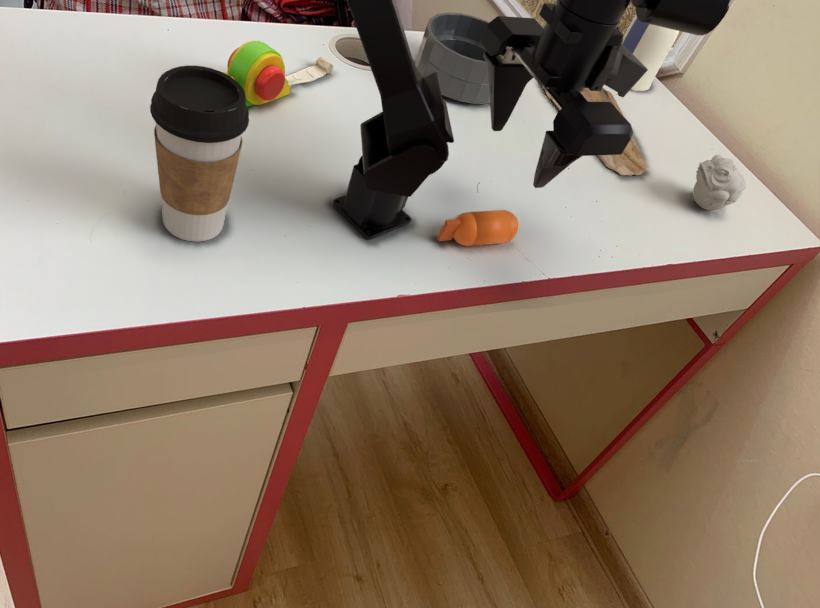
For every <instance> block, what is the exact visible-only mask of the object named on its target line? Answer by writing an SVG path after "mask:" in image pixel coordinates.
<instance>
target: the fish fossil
mask: <svg viewBox="0 0 820 608" xmlns="http://www.w3.org/2000/svg"><path fill="white" fill-rule="evenodd" d="M543 90H544V93H545V94H546V96H547V97H548V99H550V100H551V101H552V102H553V103H554V104H555V106H556V107H557V109H558V110H560V109H562V108H561V107H560V106H559V104H558V103H557V102H556V101H555V100H554V99H553V97H552V96H551V95H550V94H549V93H548V91H547V90H546V89H544V88H543ZM580 93H581V94H582V95H583V96H584V97H585V98H586V100H587V101H588V102H611V103H612V104H613V105H614V106H615V108H616V109H617V110H618V111H619V112H620V113H621V114H622V115H623V116H624V113H623V112H622V109H621V107H620V106H619V104H618V101H617V100H616V98H615V97H614V95H613V94H612V92H611V91H609V90H607V89H605V88H604V87H603V88H602V89H601V91H590V90H589V88H584V89H583V90H582V92H580ZM596 157H597V158H598V159H599V160H600V161H601V162H602V164H603V165H605V167H606V168H608V169H611V170H612V171H614V172H616V173H618V174H619V176H629V177H630V176H633V175H634V176H641V175H642V174H643V175H644V174H645V172H646V169H647V163H646V161H645V159H644V158H643V156H642V153H641V152H640V149H639V145H638V144H637V140H636V139H635V137H634V134H633V135H632V138H631V140H630V141H629V143H628V145H627V146H626V148H625V149H624V151H623V153H622V154H621V155H596Z"/></svg>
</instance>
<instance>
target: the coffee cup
mask: <svg viewBox="0 0 820 608" xmlns="http://www.w3.org/2000/svg"><path fill="white" fill-rule="evenodd" d="M223 72H224V71H221V70H217V69H215V68H212V67H207V66H202V65H182V66H176V67H173V68H172V67H171V68H170V69H168V70H166V71H165V72H163V73H161V75H160V76H159V78H158V80H157V82H156V87H155V91H154V92H153V94H152V97H151V99H150V101H151V102H150V105H149V106H150V107H149V112H150V114H151V118H152V119H153V121H154V122H155V126H154V128H153V134H154V136H153V137H154V145H155V146H154V147H155V154H156V155H155V156H156V163H157V173H158V174H157V175H158V182H159V193H160V198H161V199H160V200H161V213H162V222H163V225H164V227H165V229H166V230H167V231H168V232H169V233H170V234H171V235H173V236H174V237H176V238H178V239H180V240H184V241H188V242H196V243H197V242H198V243H199V242H206V241H210V240H212V239H214V238H215V237H217V236H218V235H219V234H220V233H221V232H222V230H223V229H224V224H225V219H226V213H227V209H228V205H229V201H230V197H231V193H232V189H233V185H234V180H235V176H236V172H237V167H238V163H239V159H240V155H241V152H242V146H243V136H242V135H243V134H244V133H245V132H246V130H247V129H248V127H249V123H250V117H249V116H250V111H249V108H248V107H249V106H248V107H247V105H246V95H245V91H244V90H243V88H242V87H241V85H240V84H239V83H238V82H237V81H236V80H234V79H233V78H232V77H230V76H229V75H227V74H225V73H223Z"/></svg>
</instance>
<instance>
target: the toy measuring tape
mask: <svg viewBox="0 0 820 608" xmlns="http://www.w3.org/2000/svg"><path fill="white" fill-rule="evenodd" d="M226 67H227V70H226V71H222V72H223V73H225V74H227V75H229V76H230V77H232V78H233V79H234V80H236V81H237V82H238V83H239V84H240V85H241V87H242V88H243V90H244V91H245V95H246V105H247V107H251V106H253V105H256V106H260V105H261V106H262V105H264V104H267V103H270V102H272V101H276V100H278V99H281V98H283V97H286V96H288V95H290V93H291V90H292V89H291V87H292V86H294V85H298V84H305V83H306V84H309V83H310V82H314V81H316V80H318V79H320V78H322V77H325V76H326V74H327V75H329V74H330V73H331V72H332V71H333V69H334V64H333V63H331V61H329V60H327V59H325V57H323V56H320V57H318V58H317V59H316V60H315V64H314V65H312V66H307V67H305V68H303V69H300V70H299V71H297V72H293V73H291V74H288V75H286V66H285V62H284V59H283V56H282V55H281V54H280V52H278V51H277V50H276V49H274V48H273V47H271V46H270V45H268V44H267V43H265V42H263V41H261V40H251V41H250V40H249V41H247V42H245V43H243V44H242V45H240V46H239V47H237V48H236V49H234V50H233V52H232V53H231V54H230V56H229V58H228V61H227V66H226Z"/></svg>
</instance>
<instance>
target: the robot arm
mask: <svg viewBox="0 0 820 608" xmlns="http://www.w3.org/2000/svg"><path fill="white" fill-rule="evenodd" d="M730 2H731V0H555V2H554V3H548V2H543V4H542V7H541V9H540V11H539V16H540V17H541V19H542V20H543V21H544V22H545V24H544V27H543V26H542V25H541V23H539V21H537V20H536V18H534V17H519V16H503V15H497V16H496V17H495V18H493V19H492V20H490V21H488V22H489V23H488V24H487V25H486V27H485V30H484V33H483V35H482V38H481V40H480V43H481V44H482V46H483V47H484V48H485V49H486V51H485V52H484V58H485V60H486V65H487V74H488V83H489V95H490V102H489V108H490V125H491V126H490V127H491V130H492V131H493V132H501V131H503V129H504V128H505V126H506V124H507V123H508V121H509V119H510V118H511V116H512V114H513V112H514V110H515V108H516V106H517V104H518V102H519V100H520V98H521V97H522V94H523V92H524V90H525V88H526V86H527V85H528V83H529V82H530V81H532V80H533V79H534V80H535V81H536V82H537V84H538V85H539V86H540V87H541V88H542V89H543V90H544V89H546V90H547V91H548V93H549V94H550V95H551V96H552V97H553V99H554V100H555V101H556V102H557V103H558V104H559V106H560V107H561V108H562V109H558V111H557V113H556V114H555V116H554V119H553V120H552V126H553V127H552V128H553V130H546V131H545V134H544V138H543V142H542V145H541V149H540V153H539V156H538V160H537V164H536V167H535V172H534V177H533V181H532V182H533V183H532V186H533V187H534V188H535V189H541V188H544V187H546V185H548V184H549V183H550V182H551V181H552V180H554V179H555V178H556V177H557V176H559V175H560V174H561V173H562V172H563V171H564V170H566V169H567V168H568V167H570V165H572V164H573V163H574V162H576V161H577V160H580V158H582V157H586V156H587V157H588V156H589V157H590V156H597V155H621V154H622V153H623V151H624V149H625V148H626V146H627V145H628V143H629V141H630V140H631V138H632V135H633V136H634V131H633V127H632V124H631V123H630V121H628V119H627V118H626V117H625V116H624V114H623V113H622V114H623V115H622V114H621V113H620V112H619V111H618V110H617V109H616V108H615V106H614V105H613V104H612V103H611V102H588V101H587V100H586V98H585V97H584V96H583V95H582V94H581V93H580V92H582V90H583V89H584V88H589V90H590V91H601V89H602V88H604V86H606V87H607V88H609V89H612V90H613V91H615V92H616V93H617V95H618V96H619V97H621V98H624V97H625V96H627V94H628V93H629V92H630V91H632V90H631V88H632V87H633V86H634V85H635V84H636V83H637V82H638V81H639V80H640V78H641V77H642V76H643V75H644V74H645V73H646V72H647V71H648V69H647V68H646V67H645V66H644V65H643V64H642V63H641V62H640V61H639V60H638V59H637V58H636V57H635V56H634V55H633V54H632V53H631V52H630V51H629V50H628V49H627V48H626V47H625V46H624V45H622V42H623V37H624V35H625V34H623V33H622V32H621V28H620V27H619V24H620V22H621V20H622V18H623V16H624V14H625V13H626V10H627V8H628V7H629V5H630V3H631V4H632V6H633V7H634V8H635V15H637V18H638V20H639V21H641V22H643V23H647V24H652V25H656V26H660V27H664V28H669V29H673V30H677V31H679V32H681V33H687V34H691V35H695V36H705V35H708V34H709V33H711V32H712V31H714V30H715V29H716V28H717V27H719V25H720V23H721V22H722V21H723V20H724V18H725V17H726V15H727V13H728V11H729V9H730V6H729V5H730ZM346 3H347V5H348V8H349V11H350V15H351V17H352V19H353V23H354V25H355V29H356V31H357V34H358V36H359V39H360V42H361V45H362V48H363V50H364V53H365V55H366V58H367V62H368V64H369V67H370V70H371V73H372V76H373V78H374V82H375V84H376V87H377V90H378V93H379V95H380V103H381V109H382V111H381V112H379V113H377V114H375V115H373V116H372V117H370V118H369V119H366V120H364V121H363V122H361V123H360V139H361V140H360V141H361V152H362V153H361V154H362V155H361V156H360V157H359V159H358V161H357V164H354V165H353V167H352V171H351V175H350V178H349V182H348V186H347V190H346V193H345V195H342V196H340V197H339V196H338V197H336V198H334V199H333V201H332V206H333V207H334V208H335V209H336V210H337V211H338V212H339V213H340V214H341V215H342V216H343V217H344V218H345V219H346V220H347V221H348V222H349V223H350V224H351V225H352V226H353V228H355V229H356V230H357V231H358V232H359V233H360V234H361V235H362V236H363V237H364V238H365V239H367V240H372V239H375V238H378V237H379V236H383V235H386V234H388V233H391V232H393V231H396V230H397V229H400V228H403V227H405V226H408V225H410V224H411V221H412V218H411V216H410V215H408V214H407V213H406V212H405V211H404V209H405V207H406V205H407V203H408V200H409V198H410V197H412V196H413V194H414V193H416V192H417V190H418V189H419V188H420V187H421V185H422V184H423V183H424V182H425V181H426V180H427V179H428V177H430V176H431V175H432V174H435V173H436V172H438V171H439V170H440V169H441V168H442V167H443V166H444V164H445V163H446V162H447V161H448V159H449V156H450V155H449V154H450V151H449V144H453V143H454V142H455V139H454V134H453V128H452V124H451V119H450V114H449V111H448V106H447V102H446V100H445V99H444V98H443V95H442V94H441V90H440V85H439V80H438V75H437V72H434V73H432V74H430V75H428V76H426V77H423V76H422V74H421V73H420V72H419V70H418V69H417V67H416V66H415V62H414V58H413V55H412V52H411V49H410V45H409V42H408V39H407V35H406V33H405V29H404V26H403V22H402V18H401V15H400V11H399V9H398V5H397V1H396V0H346ZM448 143H449V144H448Z"/></svg>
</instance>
